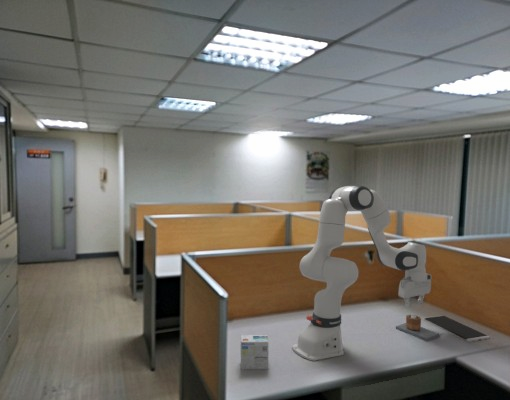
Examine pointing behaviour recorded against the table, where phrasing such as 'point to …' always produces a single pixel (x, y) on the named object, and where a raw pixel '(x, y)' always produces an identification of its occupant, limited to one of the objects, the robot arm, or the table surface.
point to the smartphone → (456, 328)
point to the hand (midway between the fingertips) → (414, 304)
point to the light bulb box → (254, 352)
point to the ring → (413, 322)
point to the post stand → (418, 331)
